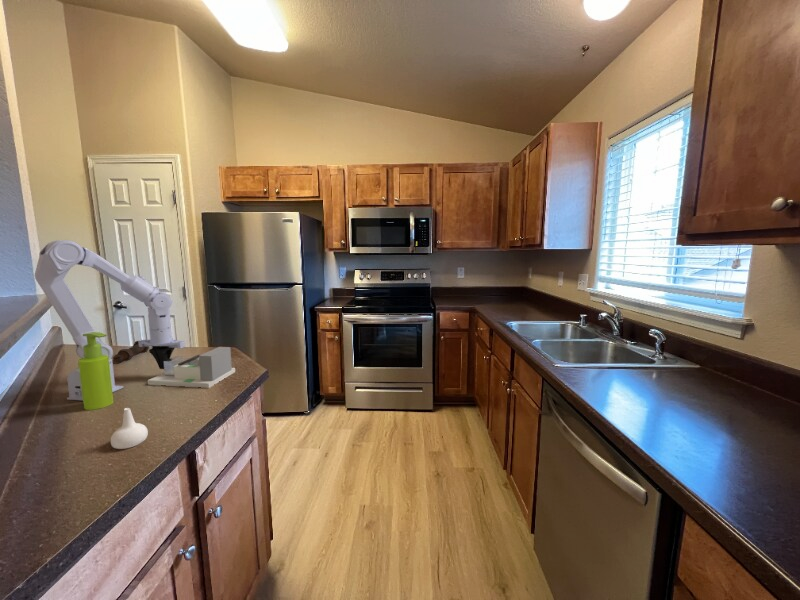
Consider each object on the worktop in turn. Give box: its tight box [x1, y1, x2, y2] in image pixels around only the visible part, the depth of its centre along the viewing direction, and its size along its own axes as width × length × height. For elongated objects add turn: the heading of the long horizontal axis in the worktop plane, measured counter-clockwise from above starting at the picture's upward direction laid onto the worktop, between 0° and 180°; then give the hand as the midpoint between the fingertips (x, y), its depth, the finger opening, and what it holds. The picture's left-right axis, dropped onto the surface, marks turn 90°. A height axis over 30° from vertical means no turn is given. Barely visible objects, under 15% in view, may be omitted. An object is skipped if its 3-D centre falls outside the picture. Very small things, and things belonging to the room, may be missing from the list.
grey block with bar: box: [163, 354, 201, 375], centre depth 107 cm, size 8×9×5 cm
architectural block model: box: [147, 346, 236, 389], centre depth 107 cm, size 20×14×10 cm
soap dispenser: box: [77, 331, 114, 411], centre depth 86 cm, size 6×7×20 cm
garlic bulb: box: [110, 407, 149, 450], centre depth 71 cm, size 6×6×8 cm
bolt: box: [112, 340, 150, 364], centre depth 127 cm, size 6×5×15 cm
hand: (163, 368), depth 108 cm, fingers closed
